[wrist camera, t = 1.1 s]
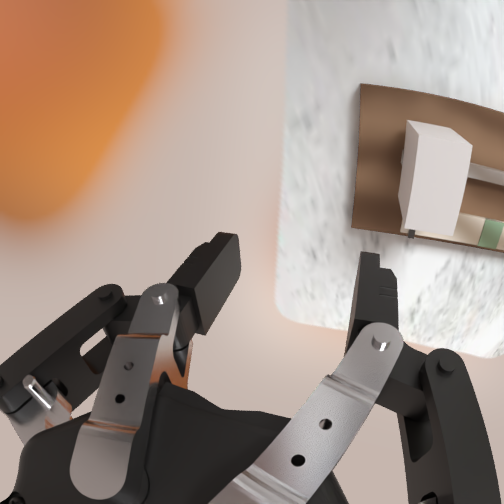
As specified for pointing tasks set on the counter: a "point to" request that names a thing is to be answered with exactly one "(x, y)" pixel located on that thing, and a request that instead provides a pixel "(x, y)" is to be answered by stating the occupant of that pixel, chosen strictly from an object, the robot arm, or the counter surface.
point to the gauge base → (391, 159)
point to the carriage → (432, 178)
